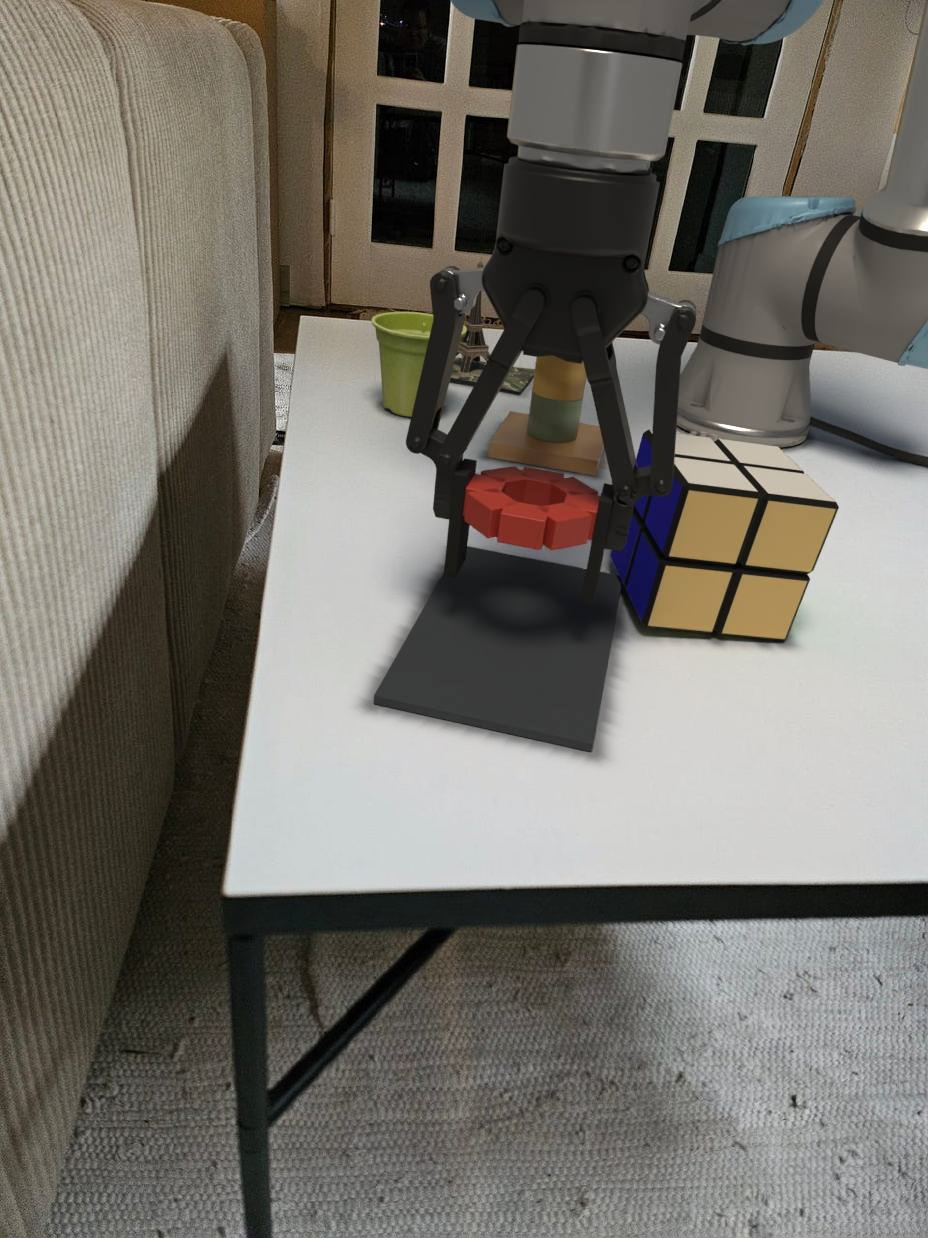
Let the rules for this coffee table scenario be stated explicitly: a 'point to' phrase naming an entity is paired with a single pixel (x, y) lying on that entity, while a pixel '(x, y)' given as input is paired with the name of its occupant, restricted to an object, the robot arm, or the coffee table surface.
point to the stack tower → (552, 423)
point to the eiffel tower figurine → (482, 353)
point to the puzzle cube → (725, 540)
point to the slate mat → (509, 650)
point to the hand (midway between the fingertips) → (521, 579)
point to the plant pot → (402, 356)
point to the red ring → (531, 508)
